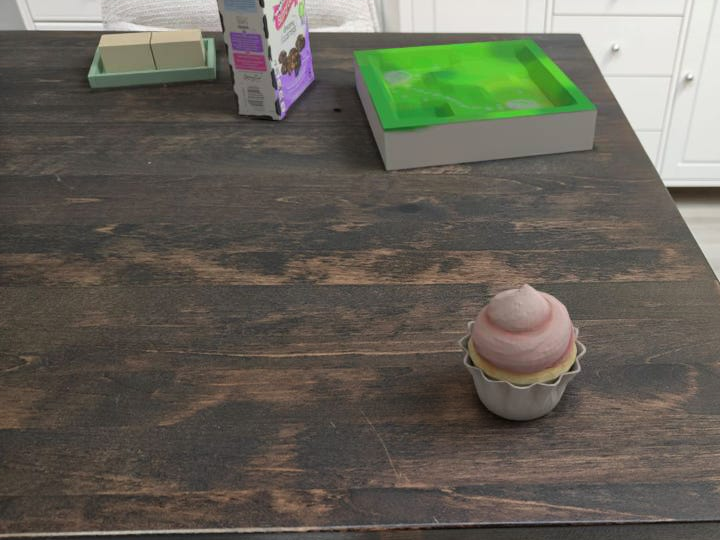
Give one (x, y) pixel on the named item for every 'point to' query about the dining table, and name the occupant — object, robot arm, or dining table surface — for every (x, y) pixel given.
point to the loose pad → (127, 52)
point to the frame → (153, 72)
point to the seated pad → (178, 49)
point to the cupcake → (522, 353)
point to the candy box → (267, 54)
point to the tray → (470, 103)
